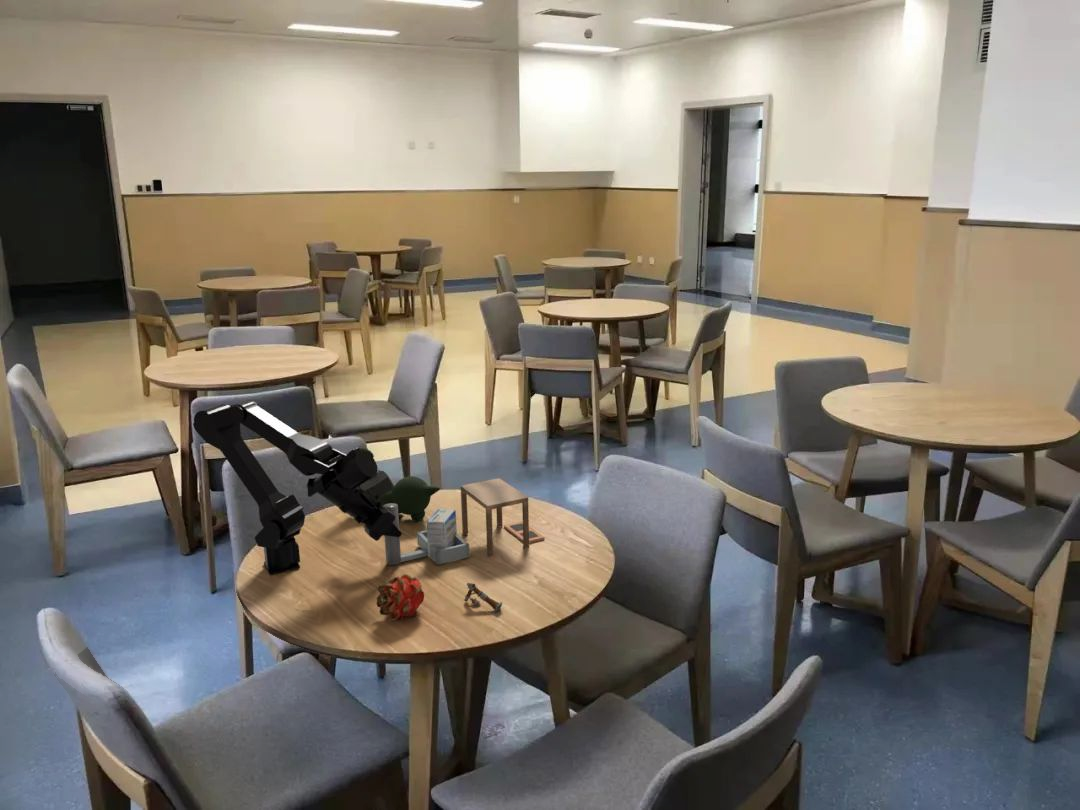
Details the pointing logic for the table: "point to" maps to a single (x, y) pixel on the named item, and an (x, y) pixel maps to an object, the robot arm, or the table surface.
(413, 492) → the toy figurine
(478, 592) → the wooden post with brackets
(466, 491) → the miniature wooden table
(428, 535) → the medicine box
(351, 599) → the table surface
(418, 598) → the dragon fruit
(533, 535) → the pit plate
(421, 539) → the grey post with tray
